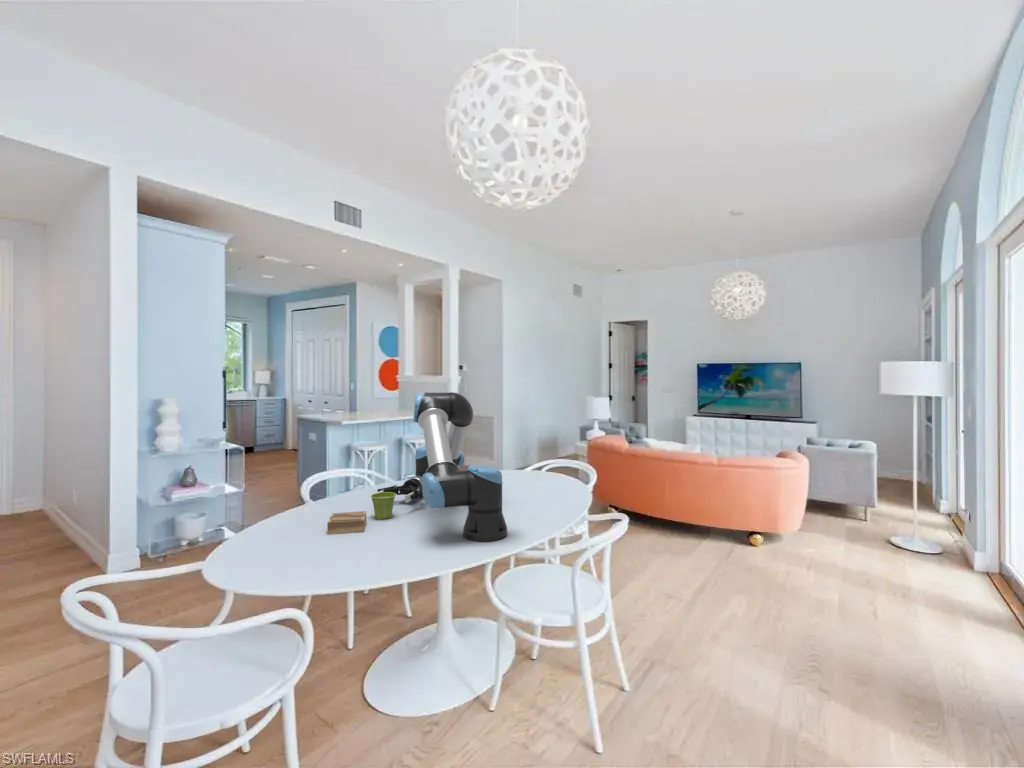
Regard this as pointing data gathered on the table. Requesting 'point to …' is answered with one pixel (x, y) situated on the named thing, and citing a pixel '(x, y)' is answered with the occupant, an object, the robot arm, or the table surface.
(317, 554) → the table surface
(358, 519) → the oak plinth
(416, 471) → the robot arm
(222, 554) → the table surface
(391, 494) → the plant pot
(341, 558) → the table surface
